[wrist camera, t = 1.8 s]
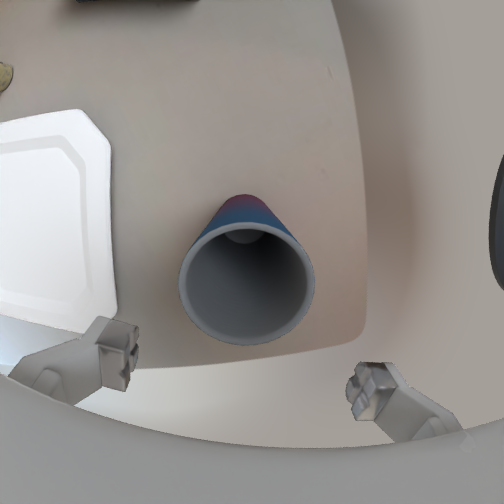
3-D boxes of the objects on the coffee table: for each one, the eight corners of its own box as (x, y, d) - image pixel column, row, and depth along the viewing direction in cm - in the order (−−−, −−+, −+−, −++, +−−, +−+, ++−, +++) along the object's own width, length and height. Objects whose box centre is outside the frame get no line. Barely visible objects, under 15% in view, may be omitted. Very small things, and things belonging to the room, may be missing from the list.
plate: (-12, 302, 31) (-20, 309, 29) (-30, 133, 23) (-41, 134, 21) (127, 331, 33) (121, 342, 31) (121, 107, 25) (112, 104, 23)
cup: (275, 180, 28) (310, 213, 14) (283, 249, 30) (317, 336, 16) (203, 190, 28) (164, 233, 14) (214, 258, 30) (194, 351, 16)
